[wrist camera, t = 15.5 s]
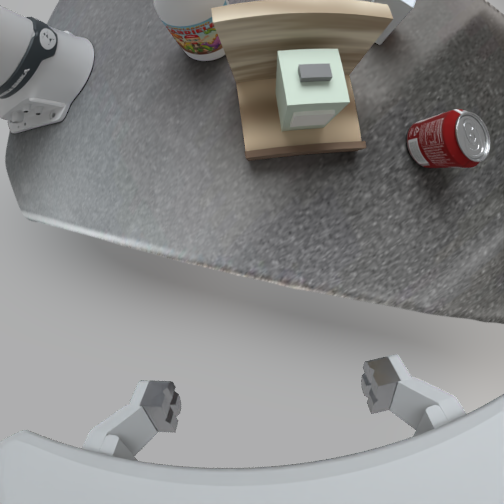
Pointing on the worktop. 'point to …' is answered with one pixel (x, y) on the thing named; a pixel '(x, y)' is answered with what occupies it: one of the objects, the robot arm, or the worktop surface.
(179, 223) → the worktop surface
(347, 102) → the mint juice carton
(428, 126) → the soda can
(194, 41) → the milk bottle
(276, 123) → the board
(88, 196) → the worktop surface
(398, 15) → the skincare box
